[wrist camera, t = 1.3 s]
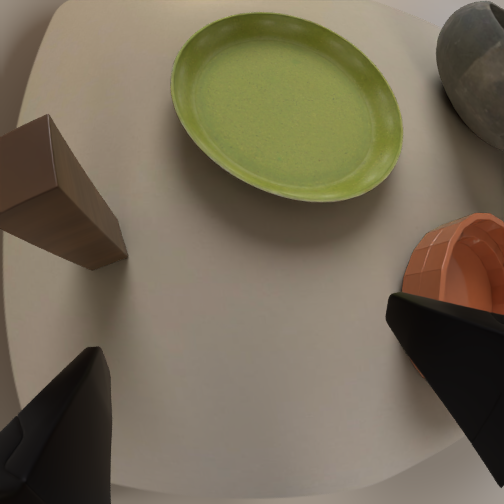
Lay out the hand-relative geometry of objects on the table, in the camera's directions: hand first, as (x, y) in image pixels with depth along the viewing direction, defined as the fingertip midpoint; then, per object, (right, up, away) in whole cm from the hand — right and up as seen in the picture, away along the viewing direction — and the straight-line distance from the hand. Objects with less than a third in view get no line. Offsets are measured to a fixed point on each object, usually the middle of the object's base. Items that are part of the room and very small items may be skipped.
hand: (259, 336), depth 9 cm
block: (-11, +3, +13) cm, 17 cm away
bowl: (+30, +23, +25) cm, 45 cm away
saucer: (+3, +15, +18) cm, 24 cm away
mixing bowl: (+20, -3, +18) cm, 27 cm away
